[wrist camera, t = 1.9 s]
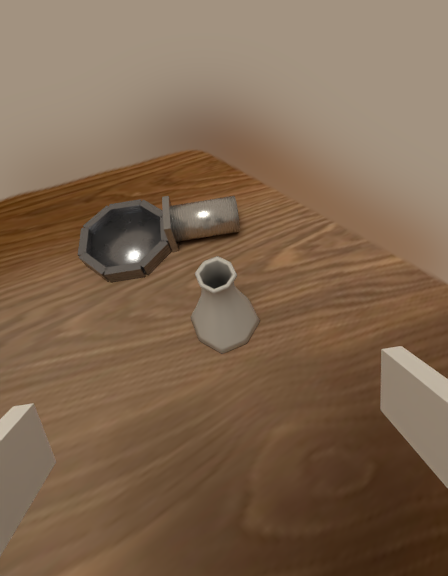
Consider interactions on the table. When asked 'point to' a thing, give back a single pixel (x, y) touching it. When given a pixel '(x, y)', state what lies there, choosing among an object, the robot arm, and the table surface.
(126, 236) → the octagonal metal scoop
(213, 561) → the table surface
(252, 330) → the flask
